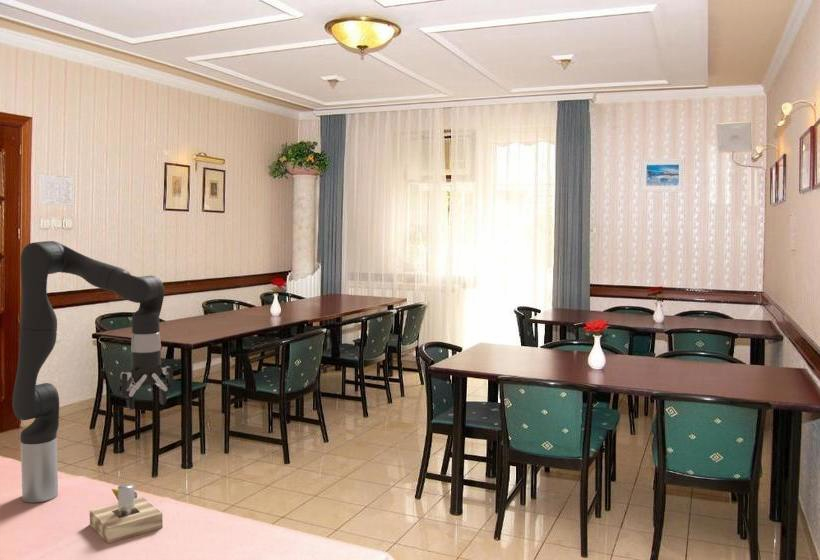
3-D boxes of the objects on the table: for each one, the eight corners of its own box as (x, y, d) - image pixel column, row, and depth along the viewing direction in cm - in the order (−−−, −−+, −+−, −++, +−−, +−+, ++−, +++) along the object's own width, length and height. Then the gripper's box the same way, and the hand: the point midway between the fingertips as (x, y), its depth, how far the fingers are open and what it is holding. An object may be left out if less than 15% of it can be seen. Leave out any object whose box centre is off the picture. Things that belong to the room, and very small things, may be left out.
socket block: (89, 524, 183) (89, 510, 182) (142, 510, 192) (142, 496, 192) (108, 543, 172) (107, 528, 172) (162, 527, 182) (162, 513, 181)
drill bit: (142, 510, 193) (117, 494, 187) (126, 515, 195) (101, 500, 188) (145, 493, 197) (121, 477, 191) (130, 499, 199) (106, 483, 192)
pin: (116, 522, 182) (115, 485, 182) (131, 518, 185) (130, 482, 184) (121, 527, 179) (121, 490, 179) (137, 523, 182) (136, 486, 181)
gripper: (166, 343, 195) (166, 399, 196) (114, 349, 185) (115, 408, 187) (177, 347, 189) (177, 405, 191) (124, 354, 180) (125, 414, 181)
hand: (147, 406), depth 189 cm, fingers open, 8 cm apart
